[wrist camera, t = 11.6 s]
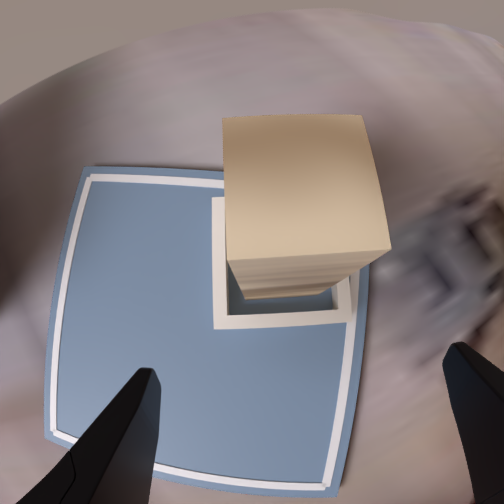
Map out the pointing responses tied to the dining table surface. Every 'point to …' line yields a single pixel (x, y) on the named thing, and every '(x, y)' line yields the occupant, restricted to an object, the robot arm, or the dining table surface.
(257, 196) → the maple pillar
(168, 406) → the board
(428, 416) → the dining table surface
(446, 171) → the dining table surface
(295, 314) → the collar
